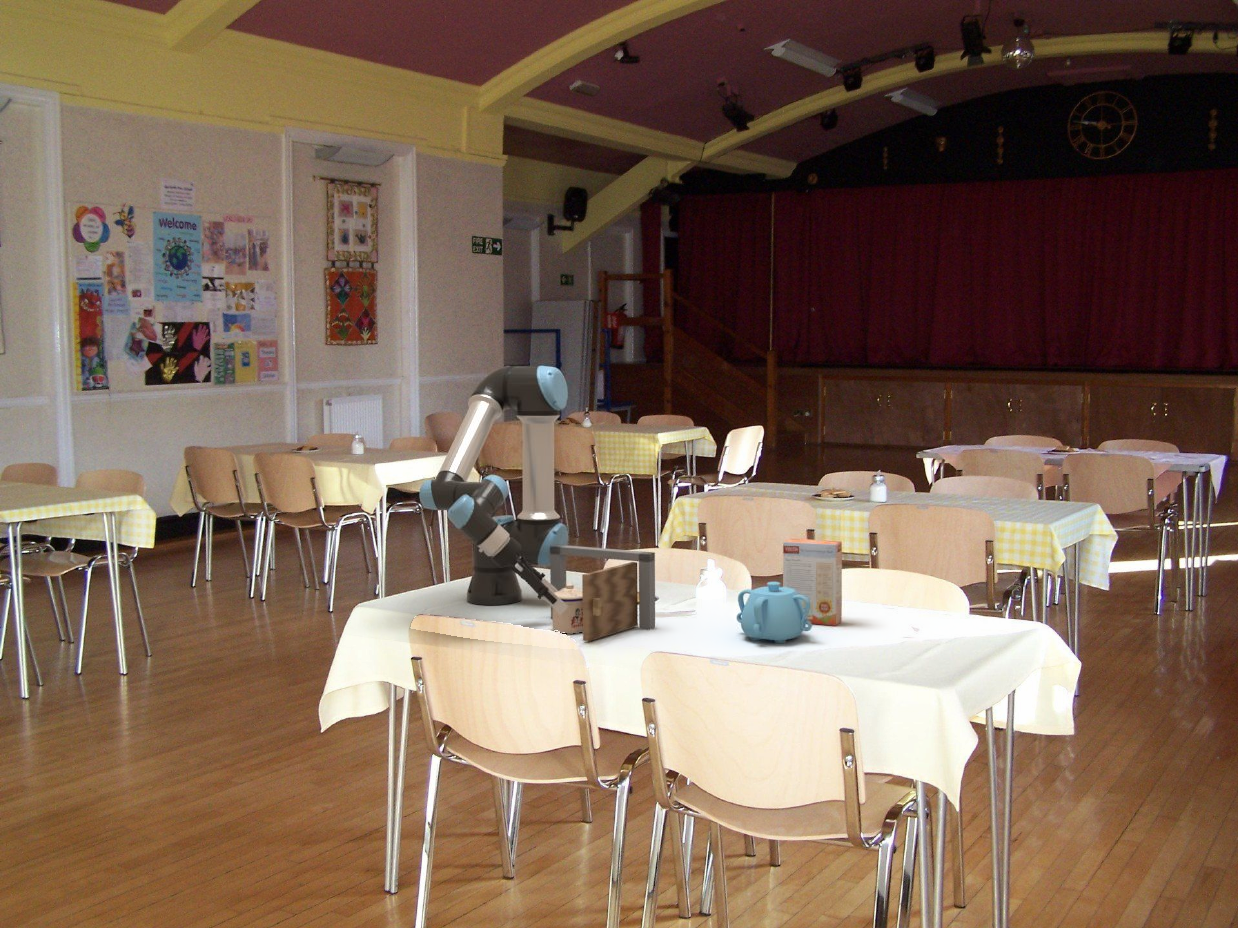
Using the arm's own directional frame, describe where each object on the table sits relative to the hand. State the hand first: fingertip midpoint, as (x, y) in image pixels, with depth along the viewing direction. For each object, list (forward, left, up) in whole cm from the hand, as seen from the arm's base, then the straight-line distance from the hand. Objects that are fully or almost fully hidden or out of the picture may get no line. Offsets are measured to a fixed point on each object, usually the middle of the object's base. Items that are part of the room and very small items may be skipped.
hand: (561, 604), depth 319 cm
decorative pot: (-15, +50, -7) cm, 53 cm away
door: (0, +14, -6) cm, 15 cm away
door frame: (-11, +5, -6) cm, 14 cm away
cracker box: (-35, +53, -7) cm, 64 cm away
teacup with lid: (-2, +2, -7) cm, 7 cm away
